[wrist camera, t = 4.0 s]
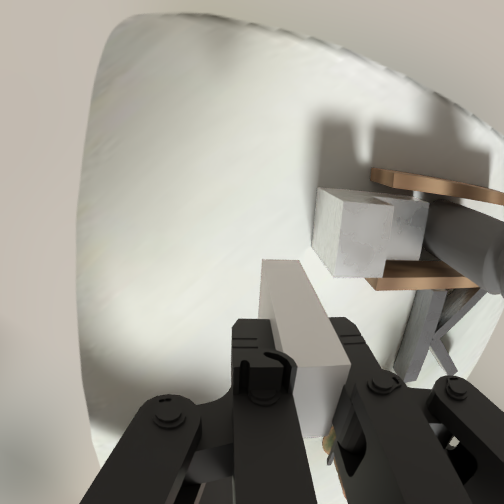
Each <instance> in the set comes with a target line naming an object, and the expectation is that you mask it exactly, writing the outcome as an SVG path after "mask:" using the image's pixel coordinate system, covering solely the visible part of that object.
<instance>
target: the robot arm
mask: <svg viewBox="0 0 504 504" xmlns="http://www.w3.org/2000/svg"><path fill="white" fill-rule="evenodd" d="M332 424H333V427H334V430H335V433H336V438H335V441H334V443H333V446H332V448H331V451H330V453H329V456H328V458H327V465H331V464H332V461H333V459H334V457H335V459H336V464H337V466H338V470H339V473H340V477H341V480H342V484H343V488H344V491H345V495H346V498H347V502H348V504H504V412H503V411H501V410H500V409H499V408H498V407H497V406H496V405H495V404H494V403H492V402H491V401H490V400H489V399H488V398H487V397H486V396H485V395H483V394H482V393H481V392H480V391H479V390H478V389H477V388H475V387H474V386H473V385H472V384H471V383H469V382H468V381H466V380H465V379H463V378H460V377H457V376H450V375H447V376H443V377H440V378H439V379H438V380H437V381H436V382H435V384H434V386H433V388H432V389H419V388H409V387H407V386H406V384H405V383H404V381H403V380H402V379H401V378H400V377H399V376H397V375H396V374H394V373H392V372H390V371H386V370H383V369H381V367H380V365H379V364H378V362H377V360H376V358H375V357H374V355H373V353H372V352H371V350H370V348H369V347H368V345H367V344H366V342H365V340H364V338H363V337H362V336H361V333H360V332H359V330H358V328H357V327H356V325H355V324H354V323H352V322H351V321H350V320H348V319H347V318H346V317H328V316H327V314H326V312H325V310H324V308H323V306H322V304H321V302H320V300H319V298H318V296H317V294H316V292H315V290H314V288H313V286H312V284H311V282H310V280H309V279H308V277H307V275H306V273H305V271H304V269H303V267H302V265H301V263H300V261H299V260H270V259H262V268H261V283H260V298H259V312H258V319H238V320H237V321H236V323H235V324H234V325H233V327H232V348H231V388H230V389H229V391H228V392H227V393H226V394H225V395H224V396H223V397H221V398H220V399H218V400H216V401H213V402H209V403H205V404H200V405H196V404H194V403H193V402H192V401H191V400H190V399H187V398H185V397H182V396H180V395H171V394H167V395H160V396H156V397H154V398H152V399H150V400H147V401H146V402H145V403H144V404H143V405H142V406H141V407H140V409H139V410H138V412H137V413H136V415H135V417H134V418H133V420H132V421H131V423H130V424H129V426H128V428H127V429H126V431H125V432H124V434H123V435H122V437H121V438H120V440H119V442H118V443H117V445H116V446H115V448H114V449H113V451H112V453H111V454H110V456H109V457H108V459H107V461H106V462H105V464H104V465H103V467H102V468H101V470H100V472H99V473H98V475H97V476H96V478H95V480H94V481H93V483H92V485H91V486H90V488H89V489H88V491H87V492H86V494H85V495H84V497H83V499H82V500H81V502H80V503H79V504H317V500H316V495H315V491H314V486H313V482H312V477H311V472H310V468H309V463H308V459H307V455H306V450H305V446H304V441H303V438H314V437H324V436H328V435H329V432H330V429H331V427H332ZM454 436H455V437H456V438H457V439H458V440H459V441H460V442H459V444H458V445H457V446H456V447H454V446H451V445H450V444H449V443H450V441H451V440H452V438H453V437H454Z"/></svg>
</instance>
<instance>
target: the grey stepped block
mask: <svg viewBox="0 0 504 504" xmlns="http://www.w3.org/2000/svg"><path fill="white" fill-rule="evenodd" d="M428 208H429V202H426V201H424V200H421V199H418V198H415V197H412V196H404V195H395V194H386V193H377V192H367V191H357V190H346V189H335V188H322V187H317V195H316V206H315V217H314V227H313V236H312V245H311V247H312V249H313V250H314V251H315V253H316V254H317V255H318V257H319V258H320V260H321V261H322V262H323V264H324V265H325V266H326V268H327V269H328V271H329V272H330V273H331V275H332V276H333V278H382V277H383V272H384V267H385V261H386V260H417V261H419V258H420V253H421V248H422V243H423V238H424V233H425V227H426V221H427V215H428Z"/></svg>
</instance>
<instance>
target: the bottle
mask: <svg viewBox="0 0 504 504" xmlns="http://www.w3.org/2000/svg"><path fill="white" fill-rule="evenodd" d="M422 246H423V247H424V248H425V249H426V250H427V251H428V252H430V253H431V254H433V255H434V256H436V257H437V258H439V259H440V260H442V261H443V262H445V263H446V264H448V265H449V266H450V267H452V268H453V269H455V270H456V271H458V272H459V273H461V274H462V275H464V276H465V277H466V278H468V279H469V280H471V281H472V282H474V283H475V284H476V285H478V286H479V287H481V288H482V289H484V290H485V291H487V292H488V293H490V294H494V295H496V294H501V295H502V296H503V298H504V222H503V221H500V220H498V219H495V218H493V217H491V216H488V215H486V214H483V213H481V212H478V211H475V210H473V209H470V208H467V207H465V206H462V205H459V204H456V203H454V202H450V201H447V200H437V201H434V202H433V203H431V204H430V205H429V208H428V215H427V221H426V227H425V233H424V238H423V243H422Z"/></svg>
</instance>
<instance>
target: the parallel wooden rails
mask: <svg viewBox="0 0 504 504" xmlns="http://www.w3.org/2000/svg"><path fill="white" fill-rule="evenodd" d="M370 181H373V182H377V183H380V184H383V185H386V186H389V187H392V188H399V189H406V190H414V191H421V192H428V193H435V194H441V195H448V196H454V197H460V198H466V199H471V200H477V201H482V202H488V203H493V204H498V205H503V206H504V193H503V192H499V191H496V190H493V189H489V188H485V187H480V186H476V185H471V184H466V183H462V182H457V181H452V180H446V179H441V178H436V177H430V176H424V175H418V174H412V173H406V172H400V171H393V170H386V169H379V168H371V177H370ZM365 279H366V280H367V282H368V283H369V284H370V285H371V286H372V287H373V288H374V289H375V290H376V291H384V290H424V289H451V288H473V287H479V286H478V285H476V284H475V283H474V282H472V281H471V280H469V279H468V278H466V277H465V276H464V275H462V274H461V273H459V272H458V271H456V270H455V269H453V268H452V267H450V266H449V265H448V264H446V263H445V262H443V261H420V260H419V261H417V260H386V261H385V267H384V272H383V277H382V278H365Z"/></svg>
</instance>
